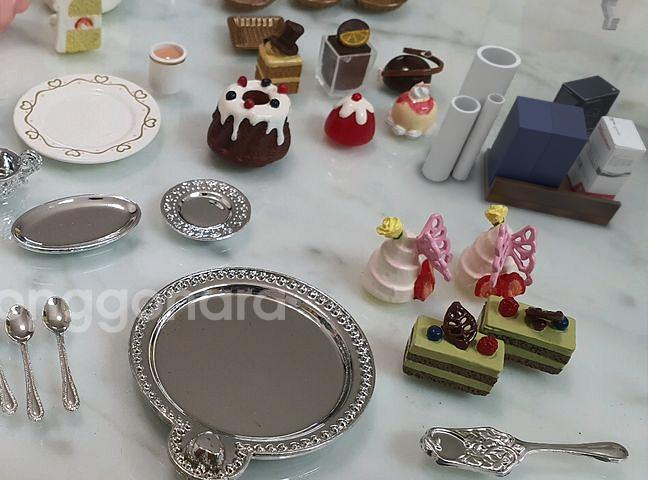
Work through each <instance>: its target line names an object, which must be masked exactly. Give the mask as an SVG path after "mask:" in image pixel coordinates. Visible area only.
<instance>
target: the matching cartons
mask: <svg viewBox="0 0 648 480" xmlns="http://www.w3.org/2000/svg"><path fill="white" fill-rule="evenodd" d="M493 141H494V142H493V144H492V145H491V146H490V147H491V148H490V151H489V153H488V186H491V185H492V183H493V181H494V179H495V177H496V176H497V177H502V178H507V179H512V180H517V181H522V182H527V183H531V184H536V185H541V186H546V187H551V188H556V189H558V188H559V186H560V185H561V183H562V182H563V180H564V178H565V177H566V175H567V173H568V172H569V170H570V169H571V167H572V165H573V164H574V162H575V161H576V159H577V157H578V156H579V154H580V153H581V151H582V149H583V148H584V146H585V144H586V143H587V141H588V136H587V130H586V124H585V118H584V111H583V108H582V107H576V106H571V105H566V104H560V103H555V102H553V101H548V100H543V99H539V98H533V97H528V96H522V95H517V96H516V98H515V100H514V102H513V104H512V105H511V108H510V110H509V111H508V114H507V116H506V118H505V120H504V121H503V124H502V125H501V128H500V130H499V131H498V133H497V136H496V137H495V140H493Z"/></svg>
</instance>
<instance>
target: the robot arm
mask: <svg viewBox="0 0 648 480" xmlns="http://www.w3.org/2000/svg"><path fill="white" fill-rule="evenodd" d="M617 4H618V0H601V3H600V7H601V11H602V14H603V17H604V19H603V23H602V26H601V30H604V31H616V30H617V28H618V24H619V22H620V18H618V17H615V15H614V11H613V7H616V6H617Z"/></svg>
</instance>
